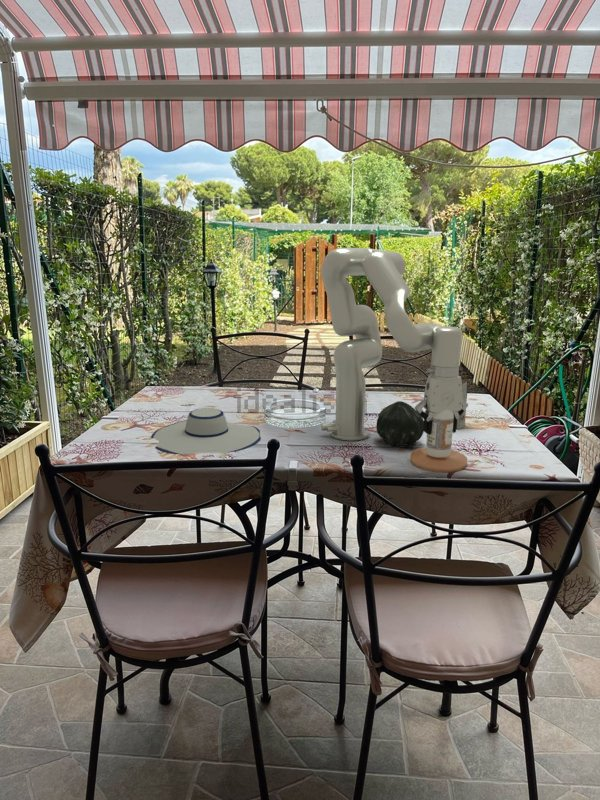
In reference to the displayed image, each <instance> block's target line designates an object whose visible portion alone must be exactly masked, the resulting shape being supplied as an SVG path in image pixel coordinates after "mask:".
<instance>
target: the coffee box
mask: <svg viewBox="0 0 600 800" xmlns="http://www.w3.org/2000/svg"><path fill="white" fill-rule="evenodd" d="M461 381H462V399H463V400H464V401H465V402H466V403H467V399H468V389H469V388H468V385H469V380H464V379H461ZM466 412H467V408H466V409H465V410H464V412H463V413H462V414H461V415H460V418H459V419H457V428H456V430H461V429H462V428H463V427H464V426H465V425H466V414H467V413H466Z"/></svg>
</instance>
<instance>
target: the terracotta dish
mask: <svg viewBox="0 0 600 800" xmlns="http://www.w3.org/2000/svg"><path fill="white" fill-rule="evenodd" d="M409 458H410V460H409V461H410V463H411V464H412V465H413V466H415V467H417V468H419V469H422V470H425V471H429V472H436V473H455V472H460V471H462V470H464V469H466V468H467V466H468V458H467V456H466V455H465V454H463V453H462V452H459V451H457V450H454V449H451V454H450V456H448V457H445V458H436V457H432V456H429V455H428V454H427V453H426V447H420V448H416V449H415V450H413V451H411V452H410V457H409Z"/></svg>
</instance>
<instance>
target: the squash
mask: <svg viewBox="0 0 600 800" xmlns="http://www.w3.org/2000/svg"><path fill="white" fill-rule="evenodd" d="M377 416H378V417H377V419H376V427H375V428H376V433H377V434H378V436H379V437H380V438H381V439H382V440H383V441H385V442H387V444H389V446H392V447H394V446H398V447H400V448H402V447H405V446H409V447H410V446H414V445H415V444H416V443H417V442H418V441H420V440H421V439H422V436H423V435H424V433H425V432H424V429H423V426H424V419H423V418H422V416H421V415H420V414H419V413H418V412H417V410H416V409H415V407H413V406H412V405H411V404H409V403H407V402H405V401H401V400H398V401H395V402H393V403H391V404H389V405H388V406H386V407H384V408H383V409H381V411H380V412H379V414H378V415H377Z"/></svg>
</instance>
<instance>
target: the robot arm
mask: <svg viewBox="0 0 600 800" xmlns="http://www.w3.org/2000/svg"><path fill="white" fill-rule="evenodd" d="M405 270H406V263H405V258H404V257H403V256H402V255H401V254H400V253H399V252H397V251H394V250H383V249H376V248H369V247H339V248H335V249H333V250H331V251H329V252H328V253H327V255H326V256H325V257H324V258H323V260H322V264H321V272H320V273H321V279H322V283H323V287H324V290H325V292H326V296H327V304H328V308H329V314H330V319H331V325H332V328H333V331H334V333H335V334H336V335H338V336H340V337H350V336H355V338H354V339H349V340H345V341H342V342H340V343H339V344H338V345H337V346H336V347H335V348H334V351H333V363H334V367H335V420H332V422H331V423H329V424H321V425H320V428H321V431H327V433H329V432H330V436H331V437H332V438H335V439H336V440H341V441H349V442H351V441H361V440H365V439H367V438H368V437H369V433H370V432H369V431H368V429H366V428H365V416H366V415H365V412H366V410H365V409H366V377H365V375H364V373H363V370H362V369H363V368H368V367H372V366H374V365H377V364H378V363H380V361H381V359H382V357H383V345H382V339H381V334H380V328H379V322H378V320H377V319H378V318H377V316H376V313H375V312H374V310H373V309H372V308H371V307H370V306H368V305H366V304H357V302H356V298H355V291H354V289H353V287H352V285H351V283H350V282H349V280H348V279H347V277H348V276H349V277H351V276H352V277H354V276H357V277H359V276H365V277H366V279H367V280H368V281H369V283H370V284H371V286H372V288H373V289H374V291H375V292H376V294H377V295H378V297H379V299H380V300H381V301H382V303H383V305H384V318H385V324H386V326H387V329H388V331H389V333H390V335H391V336H392V337H393V339H394V340H395V342H396V344H397V345H398V346H399V347H400V348H401V349H402V350H403V351H405V352H406V353H407V352H408V353H417V352H421V351H426V350H427V351H428V350H431V360H430V361H431V362H430V367H427V368H426V373H428V374H429V375H428V377H427V380H426V383H425V388H424V394H423V399H422V400H421V401H420V402H419V403H417V404H416V405H415V406H414V409H415V410H417V412H418V413H419V414H420V415H421V416H422V418H423V420H424V426H423V429H424V432H423V433H425V434H426V435H427V434H428V435H431V431H432V421H430V420H431V418H432V416H433V414H434V413H441V412H443V411H444V410H450V411H451V412H454V421H453V433H452V434H455V433H456V432H457V431H456V430H457V429H456V428H457V419H459V418H460V415H461V414H462V413H463V412H464V410H465V409H466V410H467V408H468V407H469V404H468V403H467V401H466V402H465V401H464V400H463V399H462V381H461V380H462V376H461V375H459V369H460V360H461V348H462V338H463V337H462V335H463V334H462V333H463V332H462V330H461V329H460V328H459V327H457V326H446V325H444V326H443V325H440V324H436V323H434V322H424V323H416V324H414V323H413V322H412V320H411V319H410V317H409V315H408V313H407V312H406V308H405V304H404V303H405V301H406V299H408V297H409V295H410V294H411V288H410V287H409V285H408V284H407V283H406V280H405V279H404V278H403V275H404V272H405ZM423 409H425V411H424V410H423Z"/></svg>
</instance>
